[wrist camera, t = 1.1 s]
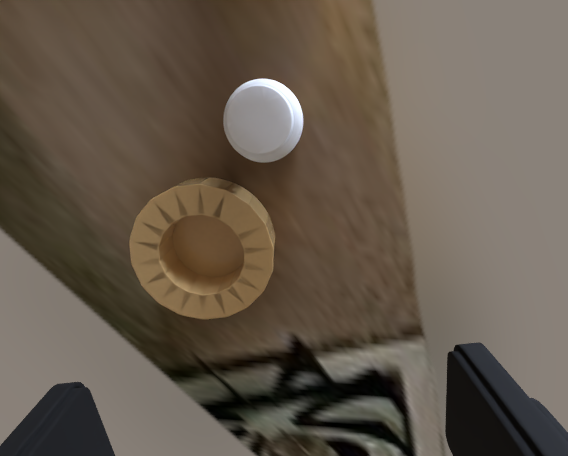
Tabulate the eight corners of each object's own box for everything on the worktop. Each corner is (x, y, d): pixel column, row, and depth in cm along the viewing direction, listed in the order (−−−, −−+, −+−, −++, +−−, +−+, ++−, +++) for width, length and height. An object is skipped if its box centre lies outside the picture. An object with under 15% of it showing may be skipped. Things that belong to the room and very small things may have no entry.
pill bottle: (291, 162, 30) (292, 178, 20) (232, 146, 29) (206, 155, 20) (308, 99, 28) (317, 86, 19) (245, 81, 28) (224, 60, 19)
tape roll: (133, 186, 31) (111, 195, 27) (266, 169, 30) (263, 175, 26) (164, 303, 34) (148, 325, 30) (283, 290, 34) (282, 311, 30)
